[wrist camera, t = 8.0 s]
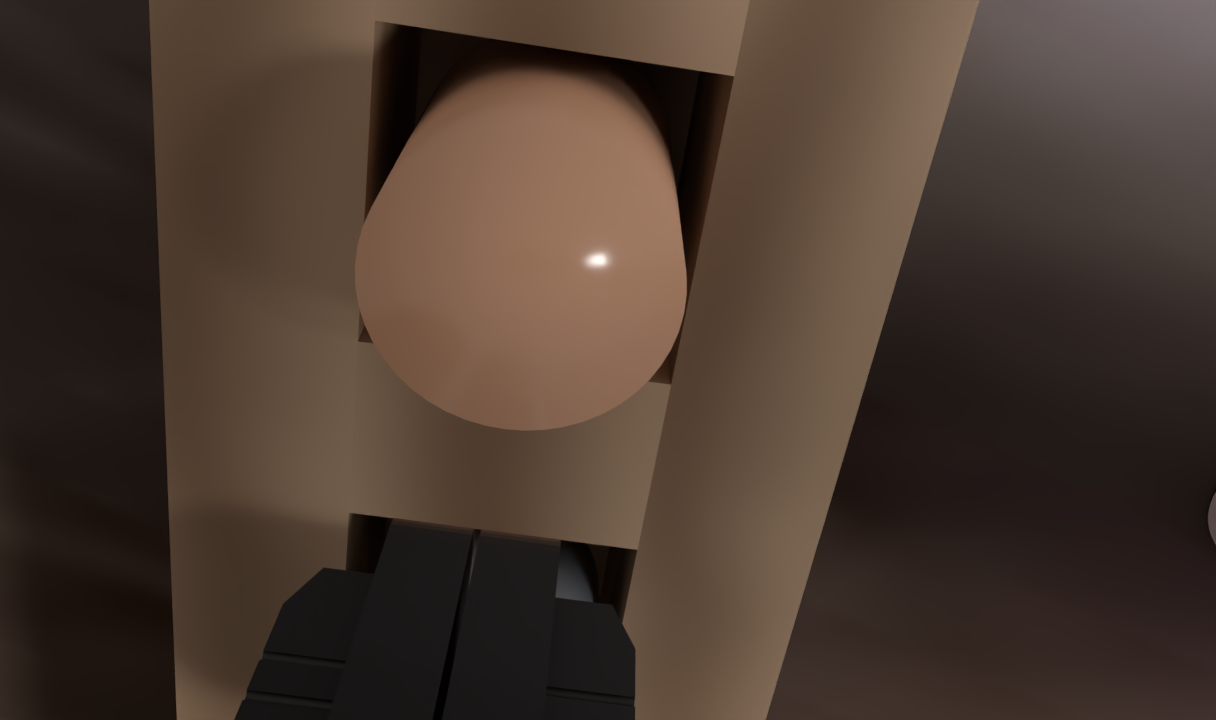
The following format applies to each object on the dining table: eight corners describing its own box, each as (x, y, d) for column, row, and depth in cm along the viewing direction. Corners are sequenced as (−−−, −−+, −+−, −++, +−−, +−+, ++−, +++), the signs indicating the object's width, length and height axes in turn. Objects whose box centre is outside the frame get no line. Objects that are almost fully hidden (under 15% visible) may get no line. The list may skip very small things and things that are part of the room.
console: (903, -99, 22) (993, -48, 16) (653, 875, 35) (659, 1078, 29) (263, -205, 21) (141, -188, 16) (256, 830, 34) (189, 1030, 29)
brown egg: (692, 48, 20) (716, 156, 15) (648, 282, 22) (656, 449, 17) (431, 7, 20) (362, 103, 15) (413, 249, 22) (347, 408, 17)
